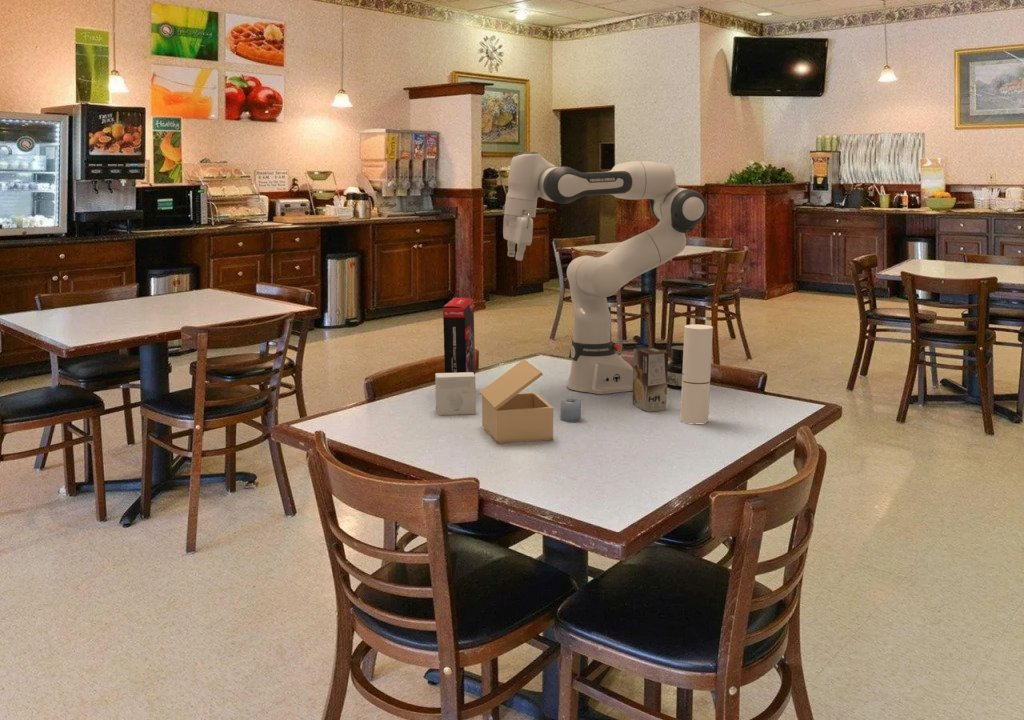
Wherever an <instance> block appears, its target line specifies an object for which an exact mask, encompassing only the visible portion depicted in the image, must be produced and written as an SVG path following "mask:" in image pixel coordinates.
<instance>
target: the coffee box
mask: <svg viewBox="0 0 1024 720" xmlns="http://www.w3.org/2000/svg"><path fill="white" fill-rule="evenodd" d="M668 363H669V353H668V352H667V351H664V350H661V349H659V348H656V347H653V346H651V347H650V346H648V347H640V348H639V347H637V348H633V366H632V368H633V391H632V403H631V404H632V405H633V406H634V407H637V408H639V409H641V410H643V411H645V412H647V413H649V412H659V411H660V412H661V411H666V410H667V403H668V402H667V400H668V397H667V395H668V387H667V376H668Z"/></svg>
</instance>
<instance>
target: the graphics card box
mask: <svg viewBox="0 0 1024 720" xmlns="http://www.w3.org/2000/svg"><path fill="white" fill-rule="evenodd" d="M474 303H475V302H474V299H473V298H469V297H453V298H451V300H449V301H448V302H447V303H446V304H444V305H443V306H442V314H443V315H442V316H443V317H442V318H443V319H442V321H443V355H444V357H443V360H444V362H443V363H444V373H463V372H473V373H474V375H475V376H476V355H475V354H476V353H475V352H476V351H475V350H476V349H475V345H476V343H475V313H474V312H475V311H474V310H475V308H474V307H475V305H474Z"/></svg>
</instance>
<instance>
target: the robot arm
mask: <svg viewBox="0 0 1024 720" xmlns="http://www.w3.org/2000/svg"><path fill="white" fill-rule="evenodd" d="M676 178H677V176H676V173H675V170H674V168H673V166H671V165H670V164H669V163H666V162H662V161H661V162H660V161H655V160H652V161H651V160H632V161H625V162H620V163H616V164H615V165H614V166H613V167H612V168H611V170H608V171H597V172H591V171H590V172H582V171H579V170H577V169H575V168H572V167H569V166H556V165H554V164H553V163H551V162H549V161H548V160H546V159H545V158H544V157H543V155H541V153H540V152H536V151H523V152H518V153H515V154H514V155H513V157H512V159H511V161H510V165H509V172H508V177H507V186H508V190H507V193H506V195H505V203H504V205H503V206H502V214H504V215H503V222H502V223H503V224H502V225H503V226H502V235H503V239H504V240H506V241H507V256H508V257H509V258H514V257H515V260H516V261H520V262H521V261H523V259H524V254H525V252H526V249H527V248H526V247H527V246H531V244H532V242H533V234H534V232H533V231H534V220H533V218H536V214H537V204H538V199H539V198H541V199H543V200H544V201H549V202H554V203H557V204H561V205H565V204H571V203H573V202H575V201H577V200H578V199H580V198H583V197H587V196H589V197H591V196H600V195H601V196H603V195H609V196H610V195H612V196H613V197H615V198H617V199H623V200H630V201H631V200H634V201H636V200H648V201H649V208H650V209H649V210H650V212H651V214H652V216H653V217H654V218H655V219H656V220H657V221H658V222H657V224H656V225H654V226H653V227H652V228H650V229H648V230H644V231H643V232H641V233H638V234H636V235H634V236H632V237H630V238H628V239H626V240H623V241H622V242H619V244H618V245H617V246H616V247H614V248H613V249H612V250H610V251H609V252H607V253H606V254H604V255H601V256H596V257H595V256H592V255H582V256H578V257H576V258H574V259H572V260H571V262H569V264H568V266H567V268H566V278H567V280H568V283H569V290H570V297H571V306H572V311H573V315H572V316H573V325H572V326H573V331H572V333H573V336H572V337H573V338H572V340H571V345H570V346H571V347H570V356H571V366H570V374H569V377H568V381H567V383H566V384H567V385H566V387H567V388H568V389H569V390H572V391H577V392H584V393H592V394H595V395H605V394H614V393H616V394H617V393H623V392H624V393H625V392H633V366H632V365H631V364H630V363H629V362H627V361H626V360H625V359H624V358H623V357H621V355H619V354H618V353H617V352H620V351H621V350H622V348H623V346H622V344H620V343H616V342H613V341H612V340H611V336H612V335H611V333H612V332H611V331H612V329H611V328H612V326H611V325H612V315H611V312H610V307H609V306H608V305H609V303H608V299H607V298H608V297H611V296H614V295H616V293H617V292H619V291H620V289H621V288H623V287H624V286H625V285H627V284H628V283H629V282H631V281H632V280H633V279H635V278H637V277H639V276H641V275H643V274H645V273H647V272H649V271H651V270H654V269H655V268H657V267H660V266H661V265H663V264H665V263H667V262H669V261H670V260H672V259H674V258H675V257H677V256H678V255H679V254H681V253H682V252H683V251H684V250H685V248H686V246H687V238H686V234H688V233H691V232H692V231H694V230H695V228H696V226H698V224H699V223H700V222H701V221H702V220H703V219H704V218H705V216H706V213H707V210H708V205H707V202H706V199H705V197H704V196H703V195H702V193H700V192H699V191H696V190H694V189H689V188H684V187H679V186H678V185H677V182H676ZM516 244H517V246H516ZM516 248H517V250H516Z"/></svg>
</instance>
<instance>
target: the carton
mask: <svg viewBox="0 0 1024 720" xmlns="http://www.w3.org/2000/svg"><path fill="white" fill-rule="evenodd" d="M481 396H482V397H481V402H482V403H481V411H482V412H481V413H482V415H481V422H482V423H481V425H482V427H483V429H485V431H486V432H487V433H488V435H489V436H490V437H491V438H492V440H493V441H494V442H495V443H496V444H506V443H508V444H509V443H521V442H522V443H523V442H536V441H537V442H538V441H551V440H552V441H553V440H554V406H552V404H550V403H549V402H547V400H545V399H544V398H543V397H541V395H539V394H538V393H537V392H534V391H533V392H520V393H518V394H517V395H516V396H514V397H513V398H512V399H510V400H509V401H508V402H506V403H505V404H504V405H502V406H501V407H500V408H498V409H497V410H496V409H495V408H494V407H493V406H492V405H491V404H490V403H489V402H488V401H487V400H486V399H485V398H484V396H483V395H482V394H481Z"/></svg>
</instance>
